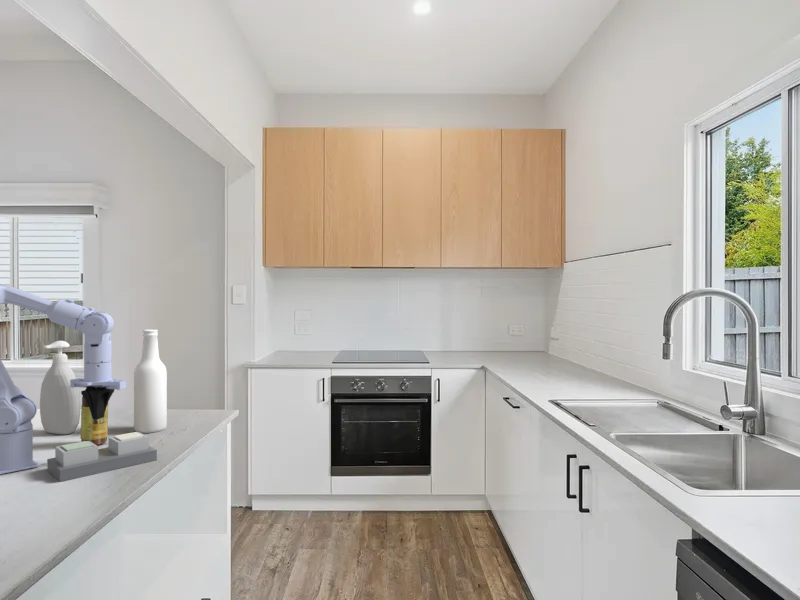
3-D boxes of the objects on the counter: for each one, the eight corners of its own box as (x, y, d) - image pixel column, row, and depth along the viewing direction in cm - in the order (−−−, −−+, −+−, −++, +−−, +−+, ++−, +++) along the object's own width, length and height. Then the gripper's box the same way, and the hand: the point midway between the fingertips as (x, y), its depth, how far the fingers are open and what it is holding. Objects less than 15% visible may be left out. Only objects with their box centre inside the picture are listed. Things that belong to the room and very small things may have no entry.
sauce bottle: (95, 448, 133) (94, 372, 133) (74, 446, 134) (74, 371, 134) (113, 441, 140) (113, 369, 139) (94, 439, 141) (94, 368, 141)
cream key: (113, 442, 124) (113, 435, 124) (135, 438, 127) (135, 431, 127) (121, 446, 120) (121, 439, 120) (143, 442, 124) (143, 435, 124)
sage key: (61, 452, 116) (61, 445, 116) (85, 447, 119) (85, 440, 119) (67, 457, 112) (67, 449, 112) (92, 452, 116) (92, 445, 116)
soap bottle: (26, 434, 146) (25, 341, 146) (53, 427, 154) (53, 339, 154) (62, 439, 141) (61, 342, 141) (88, 432, 149) (88, 340, 149)
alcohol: (171, 429, 152) (171, 329, 151) (140, 435, 145) (140, 331, 145) (159, 424, 158) (159, 328, 157) (129, 430, 151) (129, 329, 151)
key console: (47, 469, 116) (47, 445, 116) (139, 450, 131) (139, 429, 131) (60, 481, 109) (60, 456, 109) (156, 460, 123) (156, 437, 123)
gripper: (59, 363, 120) (59, 420, 120) (109, 365, 117) (109, 423, 117) (84, 359, 127) (84, 413, 127) (132, 361, 123) (132, 416, 124)
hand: (98, 418), depth 122 cm, fingers closed
